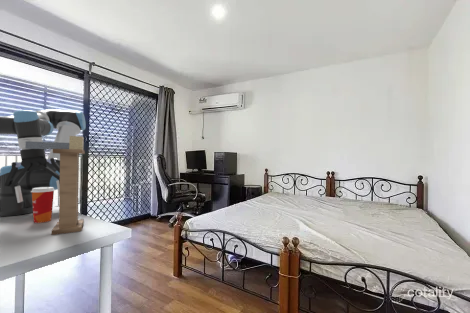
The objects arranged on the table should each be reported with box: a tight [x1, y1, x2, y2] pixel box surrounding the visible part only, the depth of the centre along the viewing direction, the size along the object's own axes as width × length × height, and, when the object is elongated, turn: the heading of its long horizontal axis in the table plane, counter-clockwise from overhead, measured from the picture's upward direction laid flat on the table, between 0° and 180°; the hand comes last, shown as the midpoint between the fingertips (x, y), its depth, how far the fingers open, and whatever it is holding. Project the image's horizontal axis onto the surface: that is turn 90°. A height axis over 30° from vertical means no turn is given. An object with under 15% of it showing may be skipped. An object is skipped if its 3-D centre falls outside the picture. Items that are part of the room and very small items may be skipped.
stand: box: [51, 149, 86, 236], centre depth 85 cm, size 12×8×30 cm
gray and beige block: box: [25, 135, 85, 150], centre depth 83 cm, size 6×16×5 cm, turn 121°
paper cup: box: [31, 187, 56, 224], centre depth 94 cm, size 8×8×14 cm
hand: (41, 198), depth 94 cm, fingers open, 13 cm apart
